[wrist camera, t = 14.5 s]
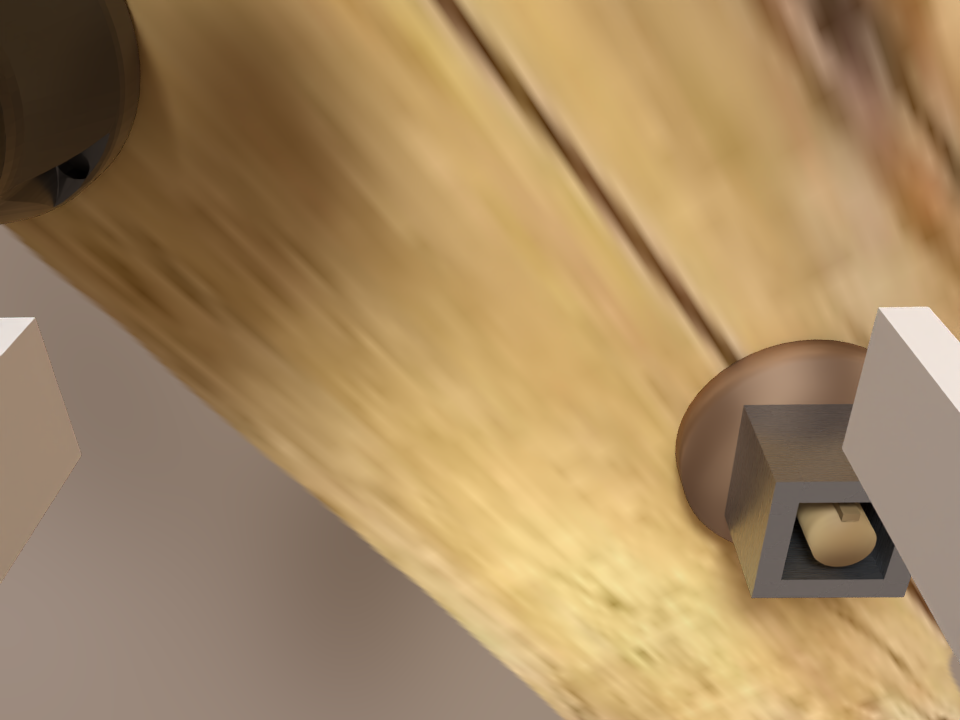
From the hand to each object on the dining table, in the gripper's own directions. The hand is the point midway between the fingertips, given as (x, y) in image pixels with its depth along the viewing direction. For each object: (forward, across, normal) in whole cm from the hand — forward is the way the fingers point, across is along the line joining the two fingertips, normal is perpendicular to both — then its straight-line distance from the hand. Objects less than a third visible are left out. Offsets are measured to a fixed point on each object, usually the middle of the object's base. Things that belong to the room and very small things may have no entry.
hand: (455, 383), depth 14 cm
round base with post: (+27, +17, -22) cm, 39 cm away
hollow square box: (+25, +17, -22) cm, 37 cm away
